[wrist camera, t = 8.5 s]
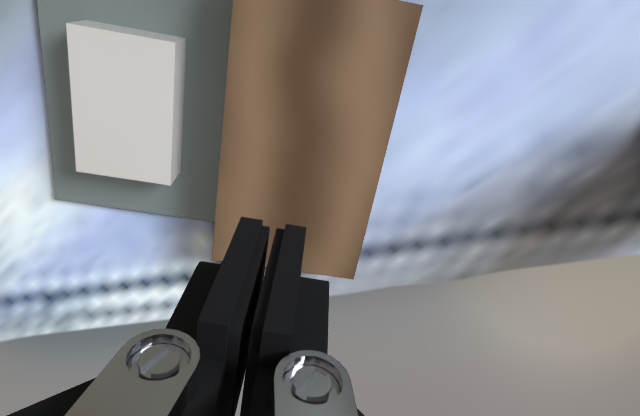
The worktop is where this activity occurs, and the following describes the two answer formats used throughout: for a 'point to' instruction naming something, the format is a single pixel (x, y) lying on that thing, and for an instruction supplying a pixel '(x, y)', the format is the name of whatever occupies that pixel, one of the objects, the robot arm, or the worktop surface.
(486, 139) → the worktop surface
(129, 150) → the tile
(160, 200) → the mat
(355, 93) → the board
